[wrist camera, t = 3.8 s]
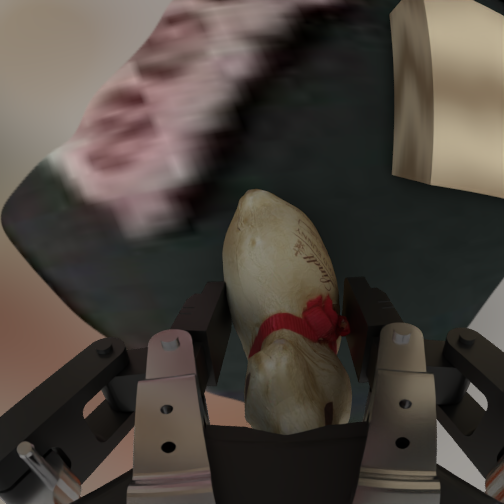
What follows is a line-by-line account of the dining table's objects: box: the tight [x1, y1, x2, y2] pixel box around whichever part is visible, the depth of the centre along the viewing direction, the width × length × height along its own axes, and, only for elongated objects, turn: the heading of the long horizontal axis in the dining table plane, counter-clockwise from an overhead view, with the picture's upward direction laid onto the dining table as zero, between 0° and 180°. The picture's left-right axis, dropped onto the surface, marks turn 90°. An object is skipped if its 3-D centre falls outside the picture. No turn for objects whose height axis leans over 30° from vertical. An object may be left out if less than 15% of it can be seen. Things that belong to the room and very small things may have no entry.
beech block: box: [389, 0, 504, 198], centre depth 13 cm, size 12×12×6 cm
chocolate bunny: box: [223, 189, 352, 435], centre depth 10 cm, size 6×8×10 cm
